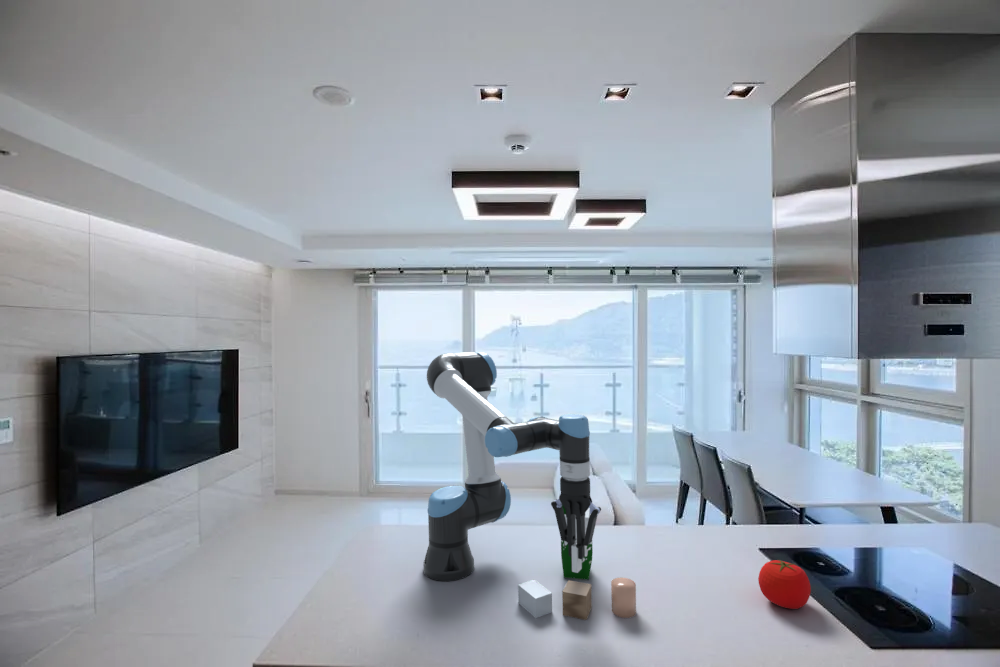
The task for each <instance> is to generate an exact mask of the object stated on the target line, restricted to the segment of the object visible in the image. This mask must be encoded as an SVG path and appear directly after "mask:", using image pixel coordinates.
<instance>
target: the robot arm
mask: <svg viewBox="0 0 1000 667" xmlns="http://www.w3.org/2000/svg"><path fill="white" fill-rule="evenodd" d="M426 370H427V371H426V381H427V385H428V387H429V388H430V390H431V391H432V392H433V393H434V394H435V395H436V397H438V398H439V399H440V398H441V399H445V400H446V401H447V402H448V403H449V404H450V405H451V406H452V407H453V408H454V409H456V411H457V412H459V413H460V414H461V415H462V416H461V417H462V424H463V433H464V434H463V435H464V443H465V444H464V445H465V451H466V452H465V454H466V462H467V471H468V476H467V477H466V479H465V480H464V486H462V485H452V486H450V485H447V486H444V487H441V488H439V489H436V490H435V491H433V492H432V493H431V494H430V496H429V497H428V504H427V505H428V506H427V507H428V508H427V514H428V515H427V516H428V519H427V520H428V547H427V550H426V553H425V557H424V559H423V567H422V568H423V574H424V573H425V574H424V575H425V576H426V577H427V576H428V577H427V578H429V579H431V580H434V581H441V582H450V581H451V582H452V581H456V580H461V579H463V578H466V577H468V576H469V575H471V574H472V573H473V571H474V569H475V560H474V559H475V558H474V556H473V554H472V551H471V547H470V544H469V538H468V537H469V536H468V535H469V533H468V532H469V530H470V529H475V528H477V527H480V526H484V525H487V524H490V523H495V522H497V521H499V520H502V519H504V518H505V517H506V516H507V514H508V513H509V511H510V509H511V504H512V503H511V502H512V497H511V492H510V489H509V488H508V485H507V483H505V482H504V481H502V476H500V475H499V474H498V473H497V472H496V463H495V458H502V457H507V458H508V457H512V456H515V455H518V454H522V453H526V452H531V451H536V450H541V449H552V450H556V451H558V452H559V475H560V476H561V477H560V478H559V487H560V488H559V489H560V490H559V491H560V494H559V496H558V499H557V498H556V499H554V500H553V501H551V503H550V505H551V507H552V509H553V511H554V513H555V514H554V515H555V518H556V522H557V523H556V524H557V527H558V531H559V536H560V541H561V540H562V541H566V542H567V543H568V554H569V556H570V557H572V572H575V573H578V572H579V571H580V570H581V569H582V559H583V558H584V556H585V546H588V545H589V544H590V543H591V542H592V543H593V539H594V533H595V529H596V528H595V527H596V523H597V519H598V515H599V514H600V513H601V510H602V508H601V507H600V506H596V504H594V503H593V499H592V497H591V478H590V476H591V462H590V460H591V459H590V433H591V431H590V424H589V419H588V417H587V416H586V415H584V414H583V415H582V414H577V413H570V414H568V413H566V414H562V415H560V416H559V418H558V420H557V419H553V418H548V417H545V416H540V417H539V416H533V417H531V418H529V420H527V421H523V422H516V423H515V422H513V421H512V420H511V419H509V418H508V417H507V416H506V415H505V414H504V413H502V412H501V411H500V410H499V409H498V408H497V407H495V406H494V404H492V403H491V402H490V401H489V400H488V396H489V395H490V394H491V392H492V386H493V385H494V384H495V383H496V379H497V376H498V375H497V374H498V372H497V366H496V363H495V362H494V360H493V358H492V357H491V356H490V355H489V354H488V353H486V352H483V351H467V352H451V353H450V352H447V353H443V354H440V355H438V356H436V357H435V358H433V360H432V361H431V362H430V364H429V366H428V367H427V369H426ZM562 505H563V507H564V508H565V510H566V517H567V524H566V519H565V515H564V511H563V507H562ZM588 508H590V511H589V512H590V517H589V520H588V525H587V529H586V534H585V512H586V511H587V510H588ZM575 518H576V524H577V538H576V528H575ZM576 540H577V542H575V541H576Z"/></svg>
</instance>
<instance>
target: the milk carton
mask: <svg viewBox="0 0 1000 667" xmlns="http://www.w3.org/2000/svg"><path fill="white" fill-rule="evenodd" d="M562 507H563V505H562ZM563 511H564V515H565V519H566V524H567V517H566V510H565V508H564V507H563ZM589 511H590V508H588V510H587V511H586V512H585V534H586V529H587V525H588V520H589V517H590V515H591V514H590V512H589ZM575 528H576V538H577V524H576V518H575ZM575 542H577V540H576V541H575ZM560 555H561V556H560V557H561V558H560V559H561V565H562V574H563V578H566V579H576V580H587V581H589V580H590V575H591V567H592V562H593V541H592V542H591V543H590V544H589V545H588V546H585V556H584V558H583V559H582V569H581V570H580V571H579V572H578V573H575V572H572V557H570V556H569V554H568V543H567V542H566V541H562V540H561V539H560Z"/></svg>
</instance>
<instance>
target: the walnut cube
mask: <svg viewBox="0 0 1000 667" xmlns="http://www.w3.org/2000/svg"><path fill="white" fill-rule="evenodd" d="M561 594H562V597H561V598H562V616H565V617H569V618H575V619H580V620H584V621H587V620H588V618H589V615H590V612H591V610H592V608H593V606H592V604H593V601H592V599H593V598H592V597H593V596H592V583H587V582H581V581H575V580H570V579H568V581H567V582H566V583H565V585H564V588H563V590H562V593H561Z"/></svg>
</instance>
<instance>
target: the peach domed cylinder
mask: <svg viewBox="0 0 1000 667" xmlns="http://www.w3.org/2000/svg"><path fill="white" fill-rule="evenodd" d="M610 582H611V584H610V585H611V588H610V590H611V593H610V594H611V613H613V615H615V616H616V617H618V618H624V619H631V618H634V617H635V616H636V614H637V587H636V586H637V585H636V582H635V581H634V580H633V579H630V578H627V577H615V578H613V579H611V581H610ZM630 617H631V618H630Z"/></svg>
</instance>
